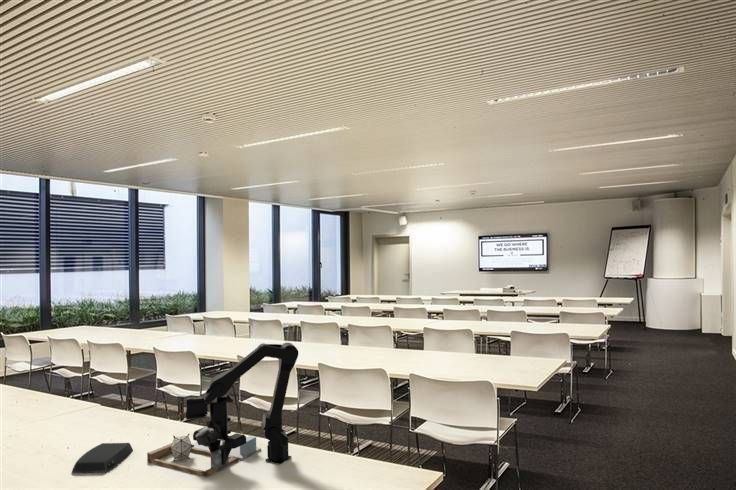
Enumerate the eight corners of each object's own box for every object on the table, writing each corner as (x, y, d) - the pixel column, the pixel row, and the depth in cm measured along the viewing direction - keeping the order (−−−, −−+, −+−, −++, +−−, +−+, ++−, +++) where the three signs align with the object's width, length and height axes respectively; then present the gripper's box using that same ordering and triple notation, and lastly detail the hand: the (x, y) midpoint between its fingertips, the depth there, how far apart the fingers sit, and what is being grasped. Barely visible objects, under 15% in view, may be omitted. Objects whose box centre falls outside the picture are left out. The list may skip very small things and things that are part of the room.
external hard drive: (68, 475, 174) (68, 462, 174) (99, 452, 193) (99, 441, 193) (108, 474, 174) (108, 462, 174) (135, 451, 193) (135, 440, 193)
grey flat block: (261, 450, 190) (260, 435, 190) (241, 460, 181) (241, 444, 181) (208, 439, 203) (207, 424, 203) (187, 448, 194) (187, 433, 194)
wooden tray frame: (238, 461, 181) (238, 444, 181) (207, 477, 169) (206, 459, 169) (180, 447, 195) (180, 432, 195) (147, 461, 182) (147, 445, 182)
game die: (184, 471, 183) (183, 454, 177) (163, 461, 184) (161, 444, 179) (199, 450, 190) (199, 433, 184) (179, 440, 191) (178, 423, 186)
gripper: (179, 419, 173) (180, 467, 173) (222, 427, 164) (223, 478, 164) (205, 409, 183) (206, 455, 183) (246, 417, 174) (247, 465, 174)
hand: (219, 463), depth 175 cm, fingers closed on wooden tray frame, 3 cm apart
